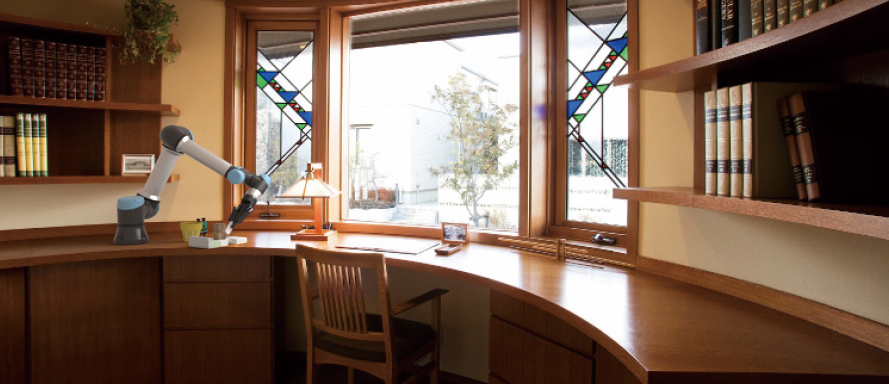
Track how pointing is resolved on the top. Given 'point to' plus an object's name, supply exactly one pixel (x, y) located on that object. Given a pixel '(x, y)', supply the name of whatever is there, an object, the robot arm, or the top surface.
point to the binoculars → (203, 227)
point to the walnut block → (219, 231)
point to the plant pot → (190, 229)
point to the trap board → (214, 241)
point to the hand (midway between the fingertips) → (225, 232)
